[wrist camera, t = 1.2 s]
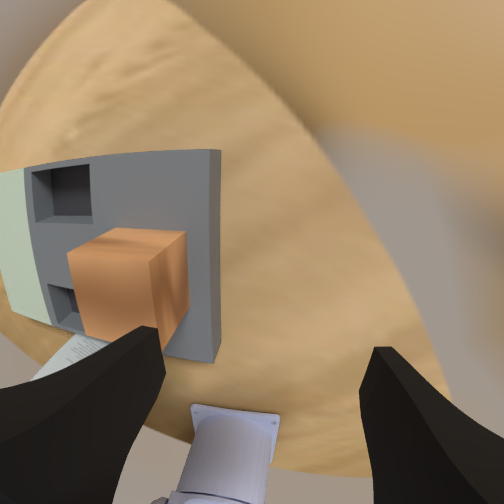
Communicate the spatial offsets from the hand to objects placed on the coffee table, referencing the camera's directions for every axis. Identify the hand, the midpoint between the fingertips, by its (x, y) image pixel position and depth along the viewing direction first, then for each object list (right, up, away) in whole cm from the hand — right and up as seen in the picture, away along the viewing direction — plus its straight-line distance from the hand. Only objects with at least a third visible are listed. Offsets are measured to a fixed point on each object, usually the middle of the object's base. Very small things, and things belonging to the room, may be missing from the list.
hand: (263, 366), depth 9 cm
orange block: (-6, +3, +7) cm, 10 cm away
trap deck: (-13, +4, +10) cm, 17 cm away
